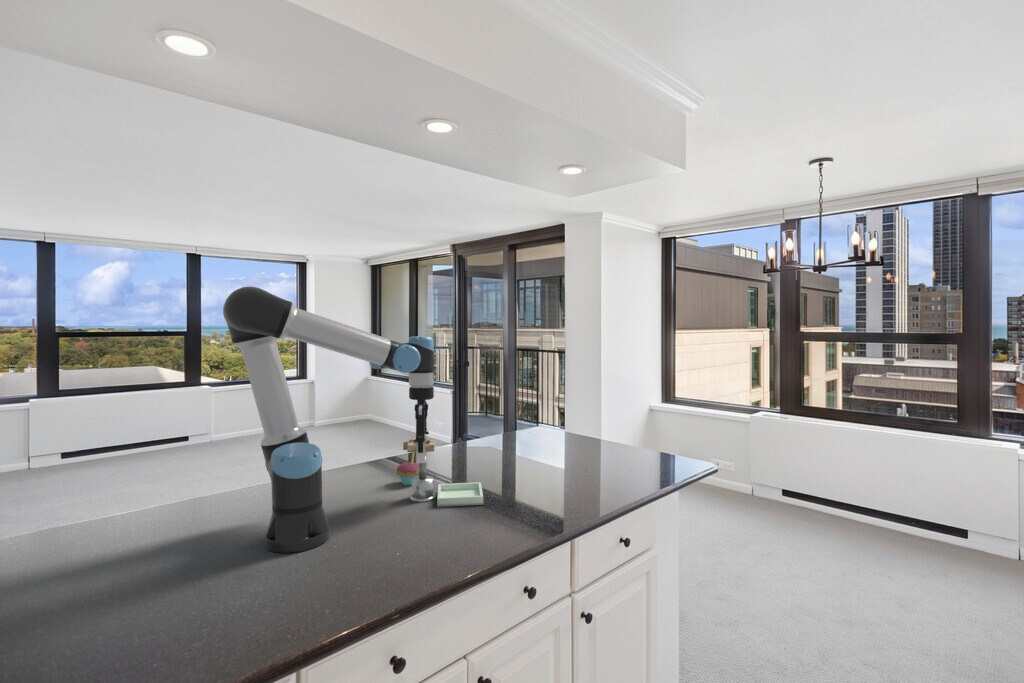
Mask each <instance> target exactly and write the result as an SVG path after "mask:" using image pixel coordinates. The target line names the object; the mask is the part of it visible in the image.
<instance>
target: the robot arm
mask: <svg viewBox="0 0 1024 683" xmlns="http://www.w3.org/2000/svg"><path fill="white" fill-rule="evenodd" d="M222 310H223V312H222V313H223V317H224V320H225V322H226V324H227V328H228V331H229V335H230V339H231V342H232V345H233V346H235V347H237V348H239V349H240V350H241V354H242V357H243V361H244V365H245V368H246V372H247V375H248V380H249V382H250V386H251V390H252V395H253V399H254V401H255V405H256V408H257V412H258V416H259V420H260V423H261V426H262V431H263V433H264V437H263V438H262V439H261V442H260V447H261V450H262V455H263V457H264V464H265V469H266V471H267V472H268V474H269V475H268V476H269V478H270V483H271V505H272V506H271V507H272V508H271V510H272V512H271V517H270V520H269V522H268V523H269V524H268V526H267V530H266V533H265V536H264V546H265V548H266V550H268V551H271V552H273V553H274V552H275V553H283V554H284V553H285V554H288V553H297V552H299V553H300V552H303V551H307V550H311V549H314V548H316V547H318V546H321V545H323V544H324V543H326V542H327V541H328V540H329V539H330V537H331V525H330V523H329V520H328V517H327V515H326V512H325V509H324V507H323V478H322V477H323V476H322V474H323V472H322V468H323V467H322V465H323V456H322V451H321V449H320V447H319V446H318V445H316V444H313V443H310V441H309V437H308V433H307V430H306V428H304V427H301V426H300V425H299V423H298V418H297V416H296V411H295V407H294V404H293V400H292V397H291V396H292V395H291V392H290V388H289V384H288V381H287V378H286V374H285V371H284V370H285V369H284V366H283V362H282V359H281V355H280V352H279V351H280V350H279V349H278V344H277V341H278V340H280V339H283V338H285V337H286V338H289V339H293V340H296V341H299V342H302V343H306V344H310V345H312V346H314V347H315V346H316V347H319V348H322V349H326V350H328V351H332V352H336V353H339V354H341V355H345V356H348V357H352V358H355V359H357V360H362V361H365V362H368V363H369V366H370V367H371V369H374V370H375V369H378V370H382V369H389V370H393V371H395V372H398V373H402V374H407V373H408V385H409V386H410V387H409V388H408V397H409V399H410V400H414V401H417V403H416V404H414V412H415V414H414V416H415V418H414V419H415V439H413V440H414V442H416V452H415V463H417V464H419V463H425V456H426V457H427V453H428V452H425V439H427V438H428V436H427V435H429V433H430V432H429V431H428V428H427V426H428V425H427V417H428V410H429V404H428V403H427V401H428V400H433V399H434V398H435V395H434V394H435V392H434V391H435V388H434V386H433V385H434V379H436V376H437V375H435V374H434V373H435V372H434V371H435V369H434V367H435V366H434V364H435V363H434V361H435V358H434V357H435V348H434V344H435V343H434V339H433V337H431V336H426V335H425V336H422V335H421V336H410V337H409V338H408V342H404V343H403V342H402V343H401V342H398V341H395V340H391V339H389V338H387V337H383V336H380V335H378V334H374V333H371V332H368V331H366V330H363V329H360V328H357V327H353V326H351V325H348V324H346V323H345V324H344V323H342V322H340V321H336V320H333V319H330V318H327V317H324V316H321V315H318V314H316V313H314V312H313V313H312V312H309V311H306V310H304V309H301V308H298V307H296V306H295V303H294V302H292V301H289V300H287V299H284V298H282V297H279V296H277V295H275V294H272V293H271V292H268V291H266V290H265V289H262V288H260V287H256V286H242V287H240V288H237V289H235V290H233V291H232V292H231V293H230V294H229V295H228V296H227V298H226V299H225V301H224V304H223V309H222Z"/></svg>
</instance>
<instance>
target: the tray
mask: <svg viewBox="0 0 1024 683" xmlns="http://www.w3.org/2000/svg"><path fill="white" fill-rule="evenodd" d="M436 497H437V498H436V499H437V502H436V503H437V508H440V507H441V508H444V507H463V506H465V507H466V506H482V505H484V494H483V487H482V483H481V481H479V482H477V481H475V482H457V483H455V482H454V483H438V487H437V496H436Z"/></svg>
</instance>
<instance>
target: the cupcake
mask: <svg viewBox="0 0 1024 683" xmlns="http://www.w3.org/2000/svg"><path fill="white" fill-rule="evenodd" d="M411 453H412V454H411V461H409V462H403V463H400V464H399V465H398V466H397V467H396V470H395V472H396V475H398V477H399V478H400V481H401V484H402V485H403V486H412V479H413V478H414V477H417V476H419V463H416V462H414V458H415V454H416V452H411Z"/></svg>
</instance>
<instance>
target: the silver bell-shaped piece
mask: <svg viewBox="0 0 1024 683" xmlns="http://www.w3.org/2000/svg"><path fill="white" fill-rule="evenodd" d="M418 464H419V476H417V477H414V478H413V479H412V485H411V486H412V493H411V494H410V495H409V500H410V501H411V502H414V503H428V502H431V501H434V500H436V499H437V498H436V497H437V493H435V492H434V476H432V475H428V474H427V467H428V466H427V456H425V463H418Z"/></svg>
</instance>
